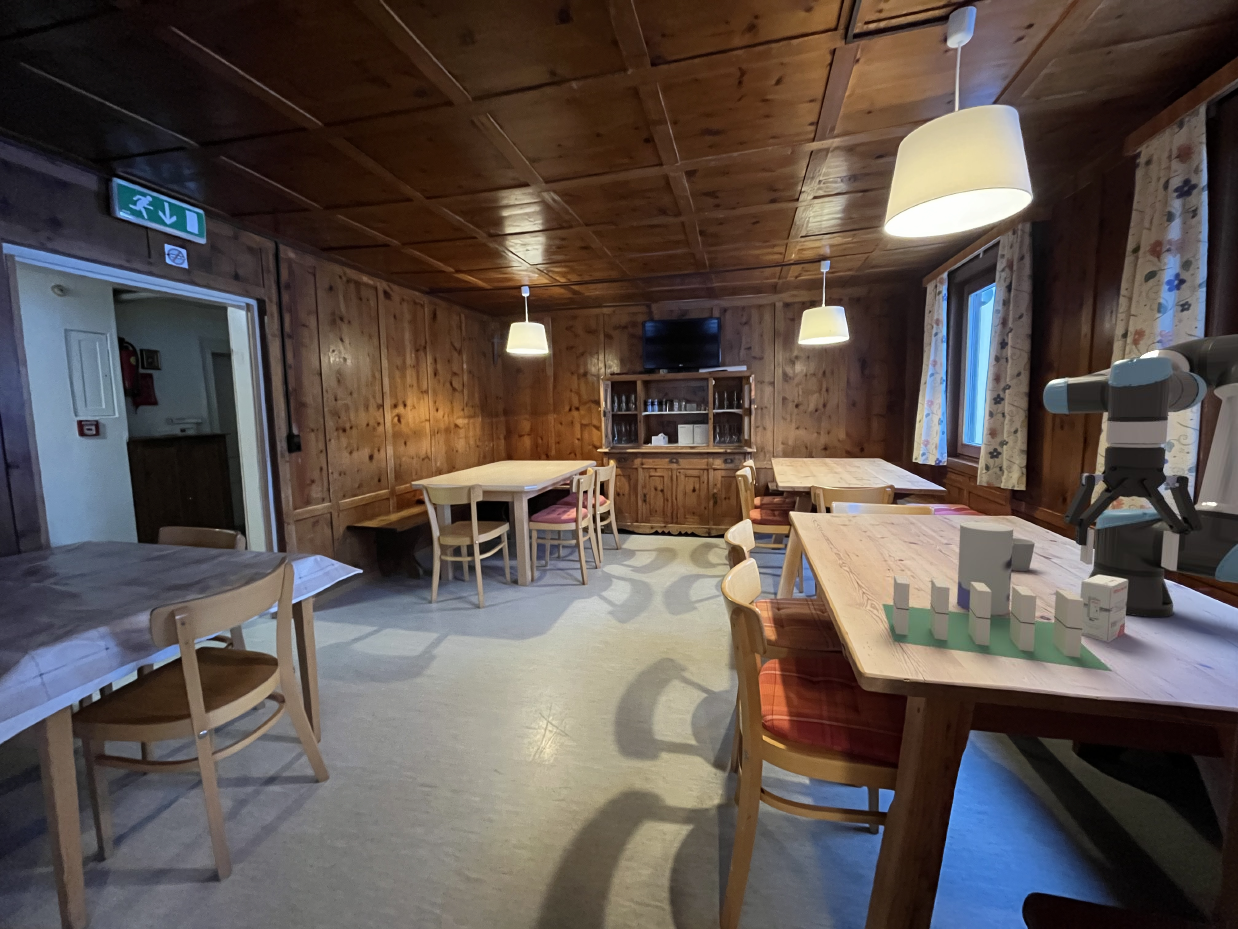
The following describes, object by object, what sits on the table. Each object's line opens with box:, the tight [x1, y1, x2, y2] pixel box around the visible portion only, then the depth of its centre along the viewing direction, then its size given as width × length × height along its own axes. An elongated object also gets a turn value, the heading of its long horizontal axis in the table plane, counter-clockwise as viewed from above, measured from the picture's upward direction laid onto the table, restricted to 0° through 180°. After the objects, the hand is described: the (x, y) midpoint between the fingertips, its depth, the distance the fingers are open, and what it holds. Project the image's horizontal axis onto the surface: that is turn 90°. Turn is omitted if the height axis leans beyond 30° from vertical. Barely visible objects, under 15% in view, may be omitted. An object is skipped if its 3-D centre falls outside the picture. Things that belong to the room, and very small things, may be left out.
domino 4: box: [1010, 585, 1037, 651], centre depth 97 cm, size 2×6×11 cm, turn 157°
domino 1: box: [892, 574, 911, 635], centre depth 105 cm, size 2×6×11 cm, turn 157°
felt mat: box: [882, 603, 1113, 672], centre depth 103 cm, size 34×22×1 cm, turn 67°
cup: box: [1011, 537, 1036, 572], centre depth 145 cm, size 8×10×8 cm
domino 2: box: [929, 578, 950, 640], centre depth 102 cm, size 2×6×11 cm, turn 157°
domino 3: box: [968, 582, 992, 646], centre depth 100 cm, size 2×6×11 cm, turn 157°
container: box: [956, 521, 1014, 616], centre depth 116 cm, size 10×10×20 cm
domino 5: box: [1053, 589, 1084, 658], centre depth 94 cm, size 2×6×11 cm, turn 157°
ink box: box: [1080, 575, 1128, 643], centre depth 101 cm, size 9×5×12 cm, turn 118°
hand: (1126, 565), depth 90 cm, fingers open, 11 cm apart
